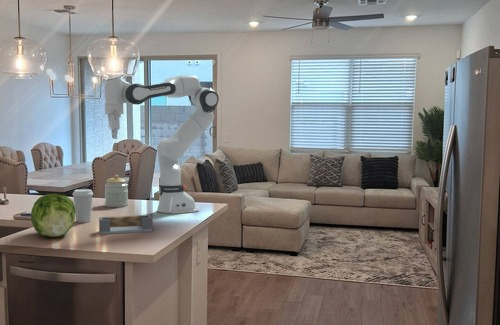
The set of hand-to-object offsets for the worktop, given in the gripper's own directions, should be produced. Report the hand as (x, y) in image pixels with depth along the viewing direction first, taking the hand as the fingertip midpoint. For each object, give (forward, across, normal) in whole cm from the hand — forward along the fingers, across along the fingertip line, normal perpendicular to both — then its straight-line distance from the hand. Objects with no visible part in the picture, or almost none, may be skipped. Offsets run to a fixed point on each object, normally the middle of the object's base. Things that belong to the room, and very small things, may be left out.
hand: (114, 138), depth 251 cm
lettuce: (+40, -36, +27) cm, 60 cm away
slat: (+40, -21, -4) cm, 45 cm away
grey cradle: (+39, -35, -2) cm, 53 cm away
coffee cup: (+40, -8, +16) cm, 43 cm away
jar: (+40, +33, -3) cm, 51 cm away
